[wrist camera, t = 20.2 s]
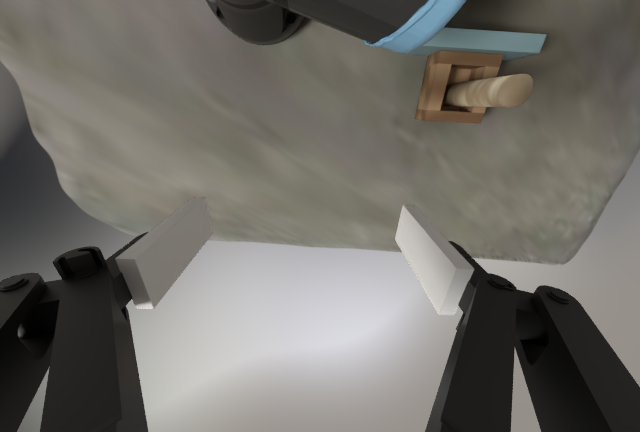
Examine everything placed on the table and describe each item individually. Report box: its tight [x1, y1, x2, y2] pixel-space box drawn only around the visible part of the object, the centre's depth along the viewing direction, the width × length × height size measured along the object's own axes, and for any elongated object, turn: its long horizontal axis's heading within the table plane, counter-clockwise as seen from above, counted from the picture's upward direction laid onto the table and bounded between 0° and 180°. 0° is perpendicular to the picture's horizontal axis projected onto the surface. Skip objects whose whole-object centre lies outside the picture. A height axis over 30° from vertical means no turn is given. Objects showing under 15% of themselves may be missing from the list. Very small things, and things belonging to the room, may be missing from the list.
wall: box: [406, 27, 547, 60], centre depth 33 cm, size 2×16×6 cm, turn 87°
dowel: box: [442, 74, 533, 107], centre depth 31 cm, size 3×3×14 cm
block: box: [415, 51, 504, 124], centre depth 36 cm, size 9×9×4 cm
